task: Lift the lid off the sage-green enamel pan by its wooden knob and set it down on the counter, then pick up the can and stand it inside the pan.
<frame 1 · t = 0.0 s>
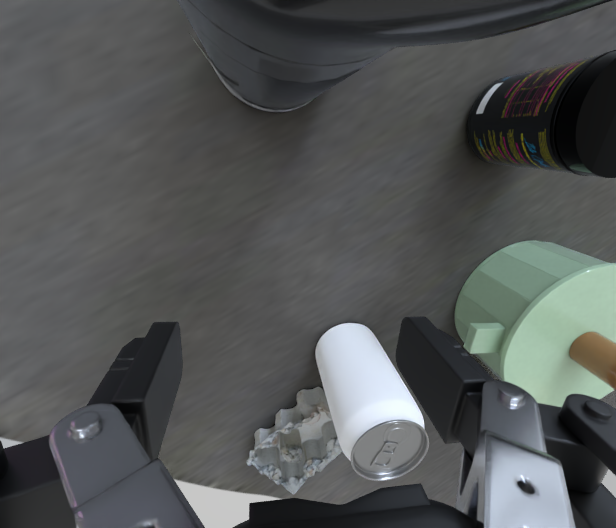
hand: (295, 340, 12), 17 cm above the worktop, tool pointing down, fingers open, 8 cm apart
can: (344, 346, 34), on the worktop
pan lid: (579, 343, 28), point 7 cm above the worktop, touching pan
pan: (514, 301, 35), on the worktop
egg carton: (300, 423, 36), on the worktop
supplement container: (498, 122, 28), on the worktop
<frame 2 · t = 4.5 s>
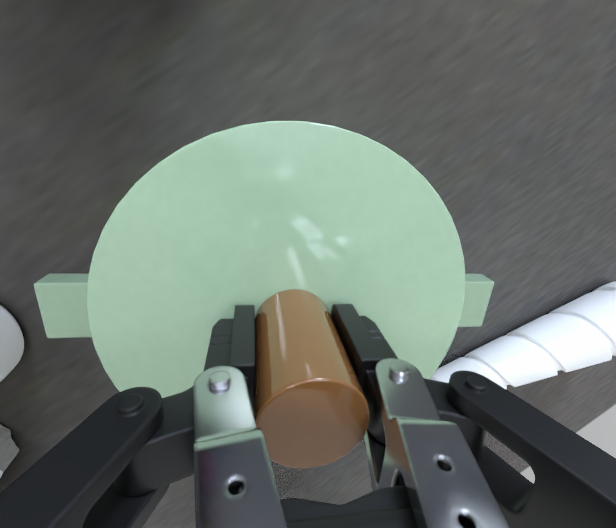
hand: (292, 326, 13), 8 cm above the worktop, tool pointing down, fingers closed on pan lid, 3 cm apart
pan lid: (290, 316, 13), point 7 cm above the worktop, touching gripper, pan
pan: (278, 254, 20), on the worktop
unicorn horn: (482, 354, 26), on the worktop
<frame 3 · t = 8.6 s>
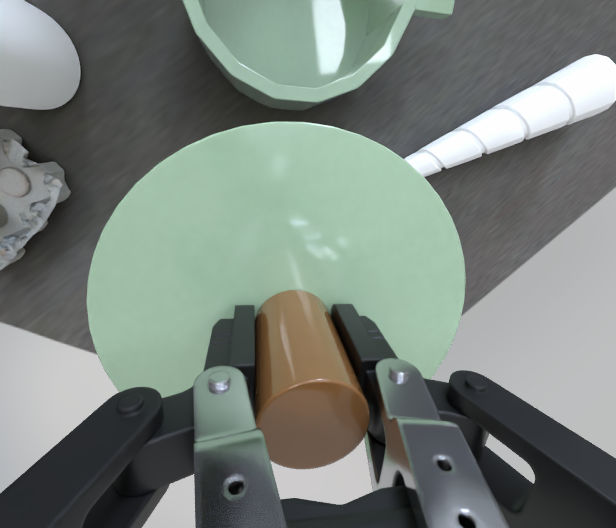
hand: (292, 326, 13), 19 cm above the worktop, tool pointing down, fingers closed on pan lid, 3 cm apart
can: (34, 61, 23), on the worktop
pan lid: (291, 317, 13), point 18 cm above the worktop, touching gripper
pan: (288, 9, 24), on the worktop
egg carton: (8, 199, 26), on the worktop
unicorn horn: (462, 142, 30), on the worktop
when the fingers open (1 cm above the worktop, at t = 12.6 s): pan lid stays where it is, point 1 cm above the worktop.
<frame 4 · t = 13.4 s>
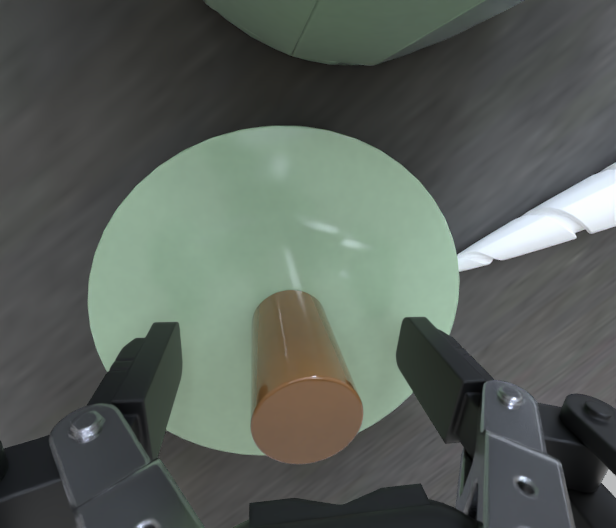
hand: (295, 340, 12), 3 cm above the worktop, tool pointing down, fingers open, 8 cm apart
pan lid: (288, 316, 14), point 1 cm above the worktop
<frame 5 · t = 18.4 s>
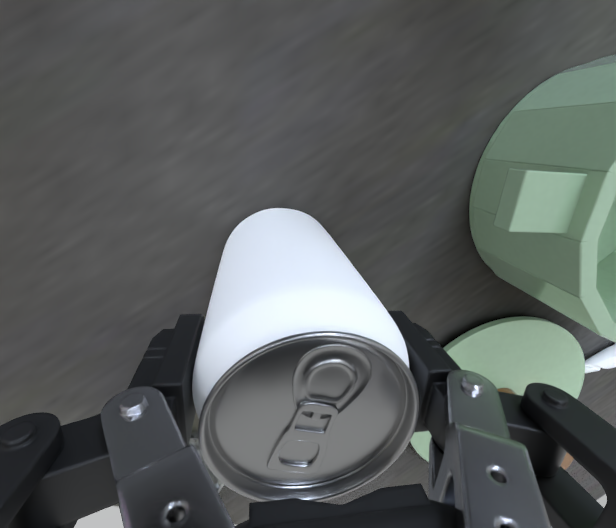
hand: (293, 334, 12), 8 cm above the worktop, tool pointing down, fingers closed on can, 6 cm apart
can: (279, 259, 19), on the worktop, touching gripper
pan lid: (493, 398, 25), point 1 cm above the worktop
pan: (570, 187, 20), on the worktop
egg carton: (215, 396, 22), on the worktop
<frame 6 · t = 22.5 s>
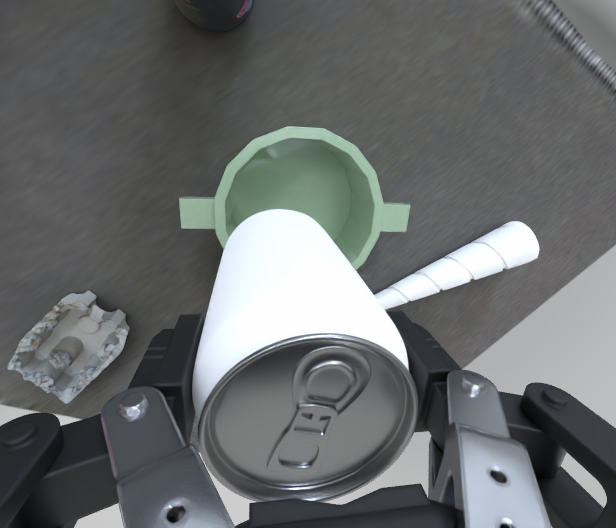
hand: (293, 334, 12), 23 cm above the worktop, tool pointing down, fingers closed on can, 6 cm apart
can: (279, 260, 19), point 15 cm above the worktop, touching gripper
pan: (291, 201, 33), on the worktop
egg carton: (83, 334, 35), on the worktop
unicorn horn: (426, 274, 39), on the worktop
when the fingers open (8 cm above the worktop, at t = 26.4 s): can stays where it is, resting on pan.
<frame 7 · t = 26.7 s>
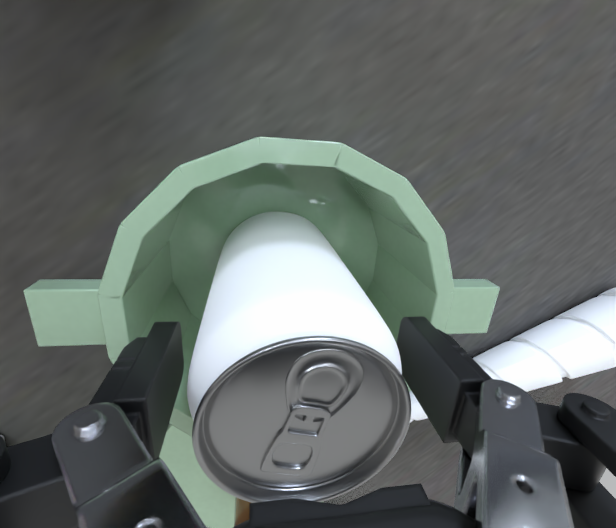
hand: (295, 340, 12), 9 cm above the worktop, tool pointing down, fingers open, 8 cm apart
can: (276, 262, 20), resting on pan
pan lid: (257, 460, 25), point 1 cm above the worktop
pan: (277, 258, 20), on the worktop
unicorn horn: (485, 359, 26), on the worktop
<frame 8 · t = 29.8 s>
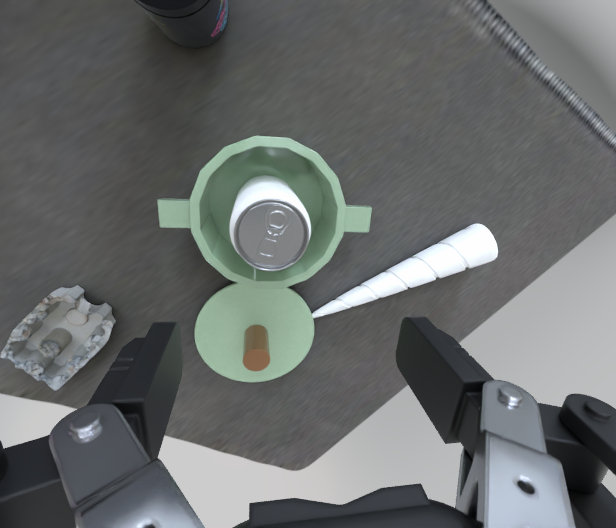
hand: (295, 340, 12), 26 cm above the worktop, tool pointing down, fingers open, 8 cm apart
can: (266, 204, 35), resting on pan
pan lid: (256, 332, 41), point 1 cm above the worktop
pan: (267, 203, 36), on the worktop
egg carton: (72, 326, 38), on the worktop
supplement container: (191, 6, 29), on the worktop
unicorn horn: (396, 273, 42), on the worktop
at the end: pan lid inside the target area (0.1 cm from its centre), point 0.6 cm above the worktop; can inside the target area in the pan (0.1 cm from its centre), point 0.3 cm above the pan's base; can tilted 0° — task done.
